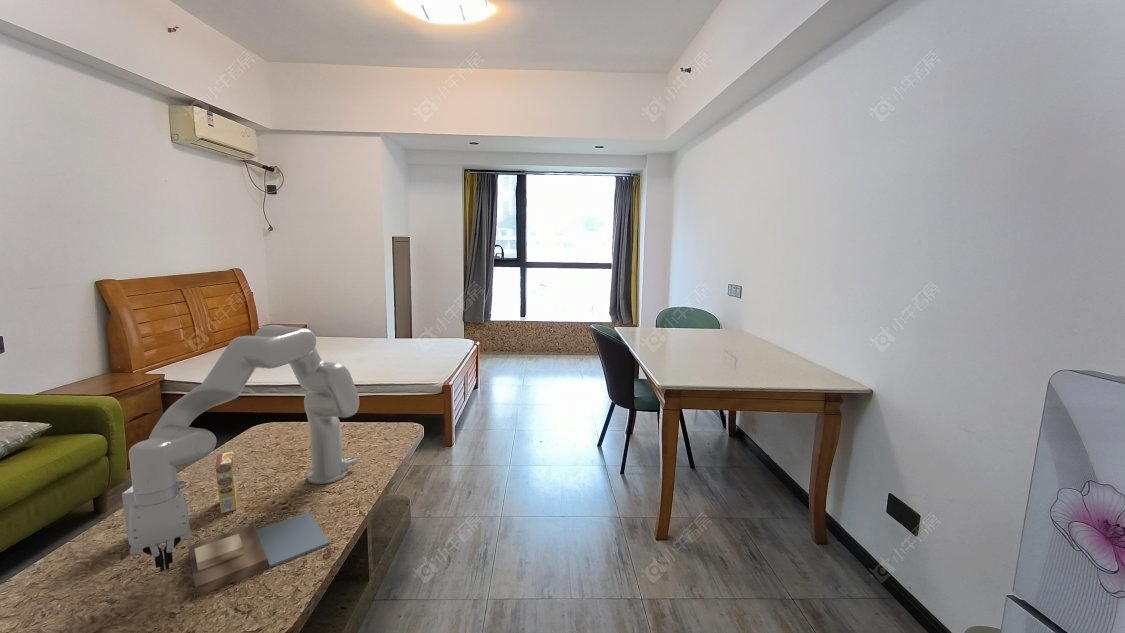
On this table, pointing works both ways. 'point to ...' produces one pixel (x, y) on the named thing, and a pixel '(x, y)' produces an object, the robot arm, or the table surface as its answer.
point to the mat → (291, 538)
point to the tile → (218, 551)
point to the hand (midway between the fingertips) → (164, 567)
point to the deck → (229, 562)
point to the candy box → (226, 482)
